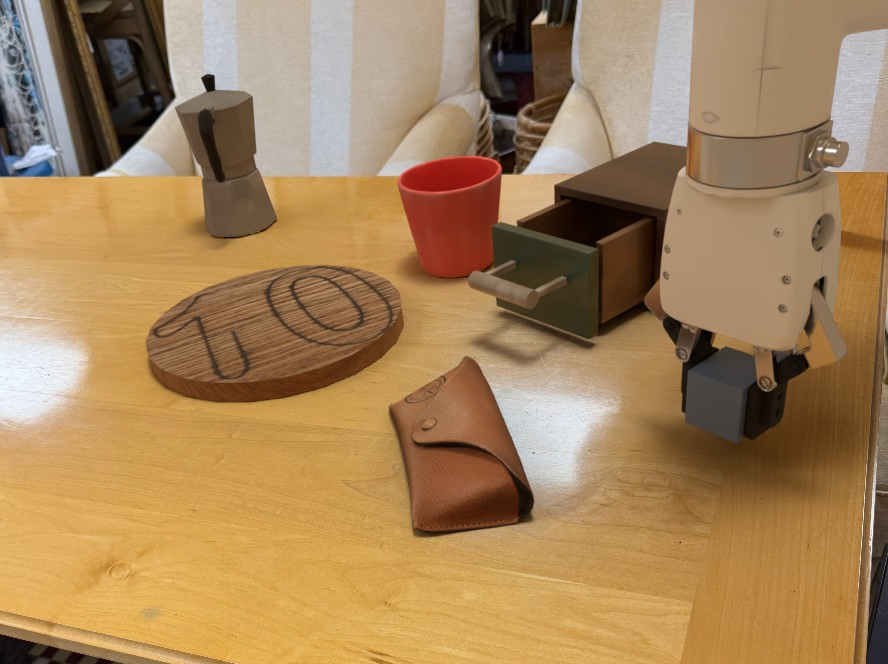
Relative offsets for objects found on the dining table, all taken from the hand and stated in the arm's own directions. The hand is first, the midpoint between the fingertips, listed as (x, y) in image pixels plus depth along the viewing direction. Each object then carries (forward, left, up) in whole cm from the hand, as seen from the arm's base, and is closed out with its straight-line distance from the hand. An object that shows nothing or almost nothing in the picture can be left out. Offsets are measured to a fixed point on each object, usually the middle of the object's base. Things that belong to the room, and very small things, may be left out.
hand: (729, 415), depth 63 cm
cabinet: (-21, -23, -3) cm, 32 cm away
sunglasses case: (+13, -14, -3) cm, 20 cm away
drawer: (-9, -23, -2) cm, 25 cm away
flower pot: (-11, -41, -3) cm, 43 cm away
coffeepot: (-3, -73, -3) cm, 73 cm away
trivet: (+11, -43, -3) cm, 44 cm away
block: (0, 0, 0) cm, 0 cm away
